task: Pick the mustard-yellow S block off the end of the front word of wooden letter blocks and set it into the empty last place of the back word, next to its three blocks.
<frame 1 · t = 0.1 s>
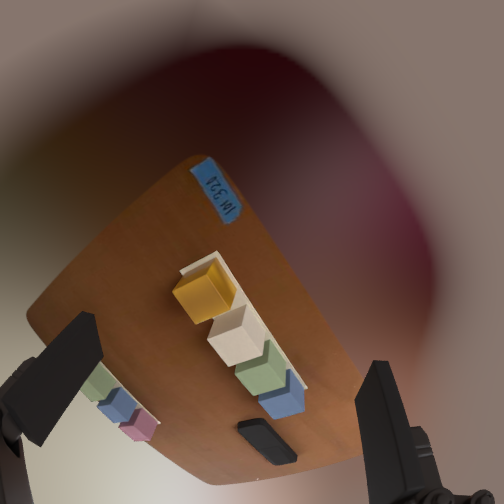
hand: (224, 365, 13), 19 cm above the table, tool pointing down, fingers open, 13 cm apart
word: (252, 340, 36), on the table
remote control: (269, 440, 44), on the table
s block: (210, 281, 33), resting on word
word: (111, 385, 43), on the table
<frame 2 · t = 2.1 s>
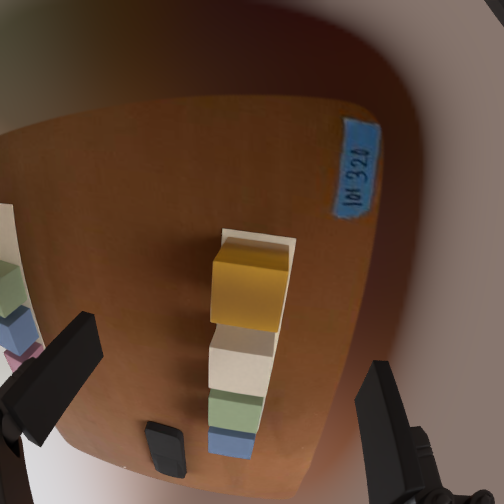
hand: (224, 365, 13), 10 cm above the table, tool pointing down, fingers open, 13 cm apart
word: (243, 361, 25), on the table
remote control: (169, 449, 35), on the table
s block: (254, 268, 22), resting on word
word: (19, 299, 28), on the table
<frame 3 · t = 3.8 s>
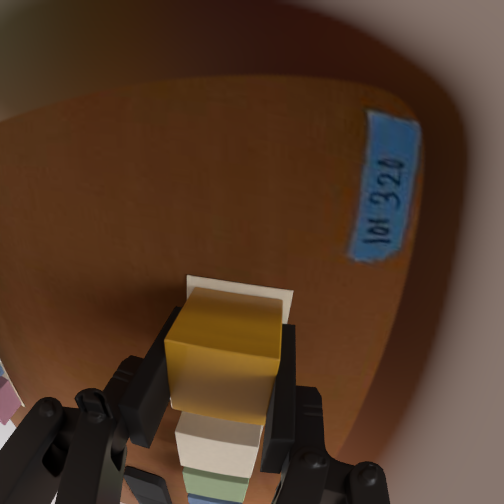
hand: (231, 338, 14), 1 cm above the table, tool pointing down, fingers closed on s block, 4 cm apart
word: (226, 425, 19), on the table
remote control: (152, 490, 28), on the table
s block: (234, 328, 15), resting on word, touching gripper
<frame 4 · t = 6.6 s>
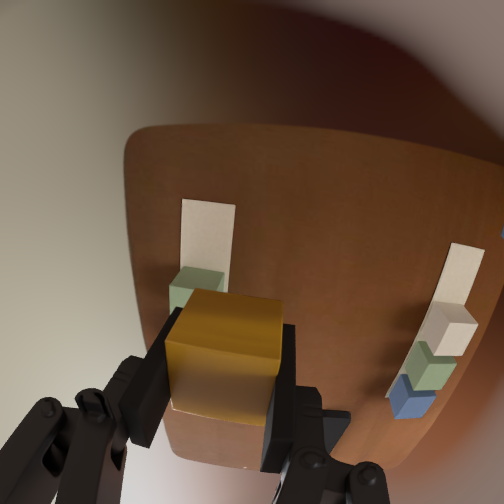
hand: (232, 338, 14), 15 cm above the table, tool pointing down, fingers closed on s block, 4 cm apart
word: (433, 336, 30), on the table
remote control: (321, 436, 40), on the table
s block: (235, 329, 15), point 14 cm above the table, touching gripper
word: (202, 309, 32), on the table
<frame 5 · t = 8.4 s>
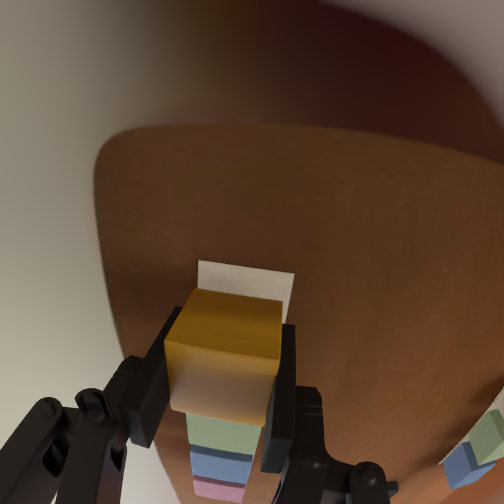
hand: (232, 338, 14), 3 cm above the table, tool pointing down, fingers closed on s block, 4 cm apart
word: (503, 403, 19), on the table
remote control: (360, 501, 28), on the table
s block: (234, 329, 15), point 2 cm above the table, touching gripper
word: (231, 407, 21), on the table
when the fingers open (1 cm above the table, at t = 9.3 s): s block stays where it is, resting on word.
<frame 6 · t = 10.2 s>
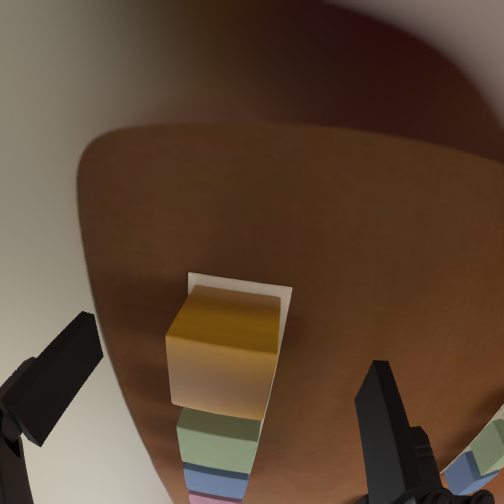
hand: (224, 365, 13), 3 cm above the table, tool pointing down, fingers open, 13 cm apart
s block: (234, 325, 16), resting on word
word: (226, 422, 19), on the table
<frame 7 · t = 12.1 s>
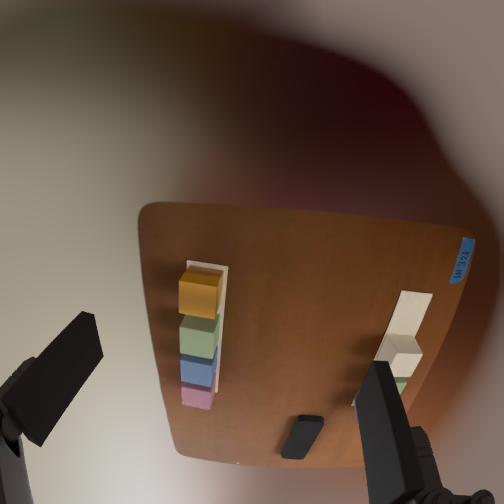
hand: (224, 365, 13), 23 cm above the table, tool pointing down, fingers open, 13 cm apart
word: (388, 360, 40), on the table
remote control: (300, 436, 48), on the table
s block: (205, 283, 37), resting on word
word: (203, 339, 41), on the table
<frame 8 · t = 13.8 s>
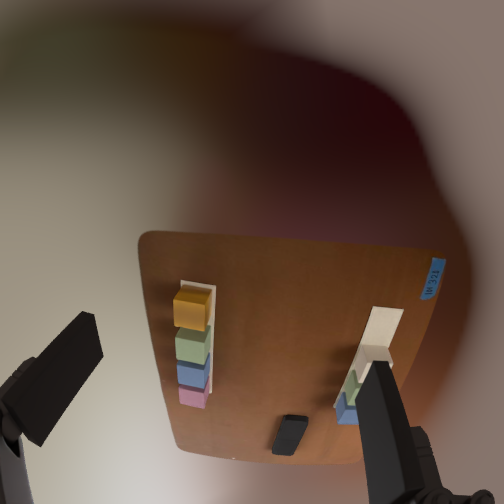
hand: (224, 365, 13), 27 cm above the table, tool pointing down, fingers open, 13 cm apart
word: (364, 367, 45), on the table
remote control: (289, 434, 54), on the table
s block: (197, 299, 43), resting on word
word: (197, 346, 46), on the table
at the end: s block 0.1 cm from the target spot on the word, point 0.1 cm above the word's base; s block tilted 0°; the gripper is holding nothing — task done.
